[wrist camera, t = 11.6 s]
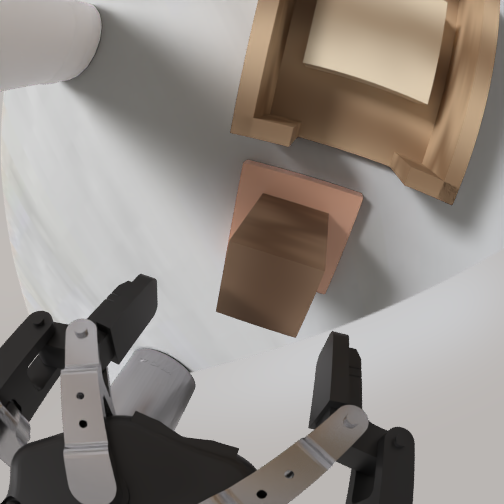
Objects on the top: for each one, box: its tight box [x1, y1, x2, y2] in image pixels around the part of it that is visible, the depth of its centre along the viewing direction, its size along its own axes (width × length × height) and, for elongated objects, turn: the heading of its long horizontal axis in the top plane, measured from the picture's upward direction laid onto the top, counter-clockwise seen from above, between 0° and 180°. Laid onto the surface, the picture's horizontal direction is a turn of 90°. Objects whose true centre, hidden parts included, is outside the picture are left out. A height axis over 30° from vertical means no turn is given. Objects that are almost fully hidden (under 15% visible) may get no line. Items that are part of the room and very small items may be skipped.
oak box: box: [230, 0, 500, 205], centre depth 11 cm, size 16×12×5 cm
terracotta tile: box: [225, 160, 363, 294], centre depth 21 cm, size 8×8×1 cm
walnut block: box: [216, 193, 329, 338], centre depth 17 cm, size 4×4×7 cm
